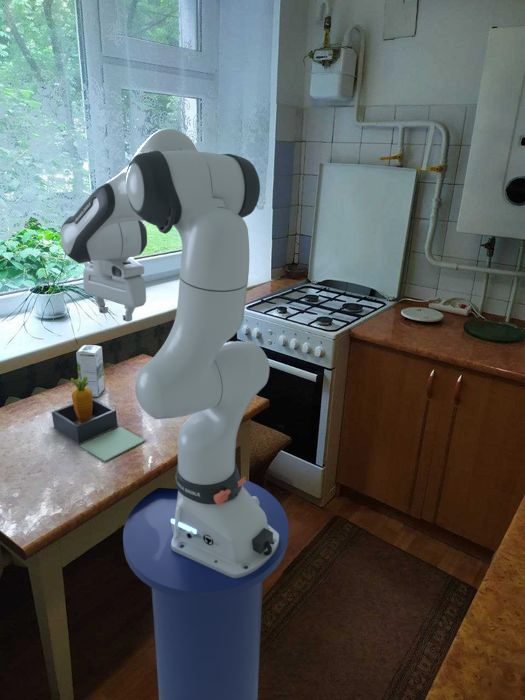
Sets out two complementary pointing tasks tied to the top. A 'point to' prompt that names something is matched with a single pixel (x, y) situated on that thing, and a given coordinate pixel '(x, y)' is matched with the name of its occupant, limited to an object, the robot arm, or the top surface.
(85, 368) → the syrup box
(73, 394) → the carrot
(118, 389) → the top surface
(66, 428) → the crate
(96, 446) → the mat
